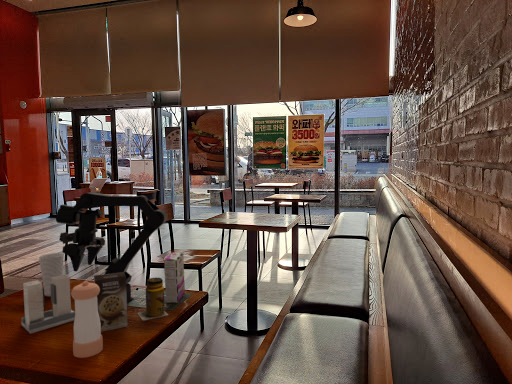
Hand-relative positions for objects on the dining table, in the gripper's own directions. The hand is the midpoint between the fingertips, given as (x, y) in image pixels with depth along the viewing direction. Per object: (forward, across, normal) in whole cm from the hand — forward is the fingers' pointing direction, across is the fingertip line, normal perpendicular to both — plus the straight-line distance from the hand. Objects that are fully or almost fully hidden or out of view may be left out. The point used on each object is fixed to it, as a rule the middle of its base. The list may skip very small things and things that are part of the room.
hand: (82, 267), depth 131 cm
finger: (+12, +14, +2) cm, 19 cm away
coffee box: (+11, +18, +21) cm, 30 cm away
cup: (+16, -9, -16) cm, 24 cm away
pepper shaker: (+11, +34, +22) cm, 42 cm away
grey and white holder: (+14, +16, 0) cm, 21 cm away
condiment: (+9, +9, +31) cm, 34 cm away
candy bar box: (+8, -6, +34) cm, 36 cm away
